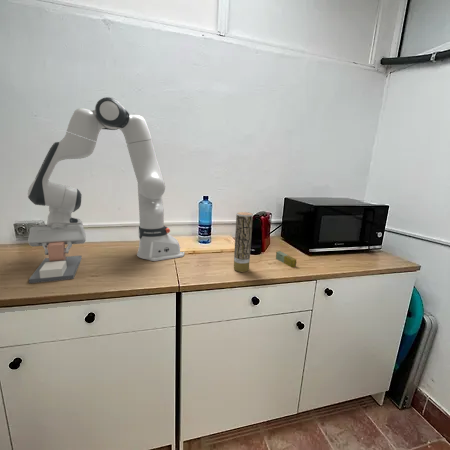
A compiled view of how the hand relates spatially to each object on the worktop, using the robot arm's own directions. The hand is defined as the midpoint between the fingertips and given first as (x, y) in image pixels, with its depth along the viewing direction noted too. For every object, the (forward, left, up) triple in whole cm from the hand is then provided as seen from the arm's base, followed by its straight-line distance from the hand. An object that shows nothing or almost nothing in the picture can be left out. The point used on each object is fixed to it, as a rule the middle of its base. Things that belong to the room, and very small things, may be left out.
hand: (56, 253), depth 106 cm
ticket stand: (0, 0, -7) cm, 7 cm away
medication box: (-97, +17, -7) cm, 99 cm away
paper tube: (-73, +19, -7) cm, 76 cm away
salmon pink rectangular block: (0, -1, -5) cm, 5 cm away
